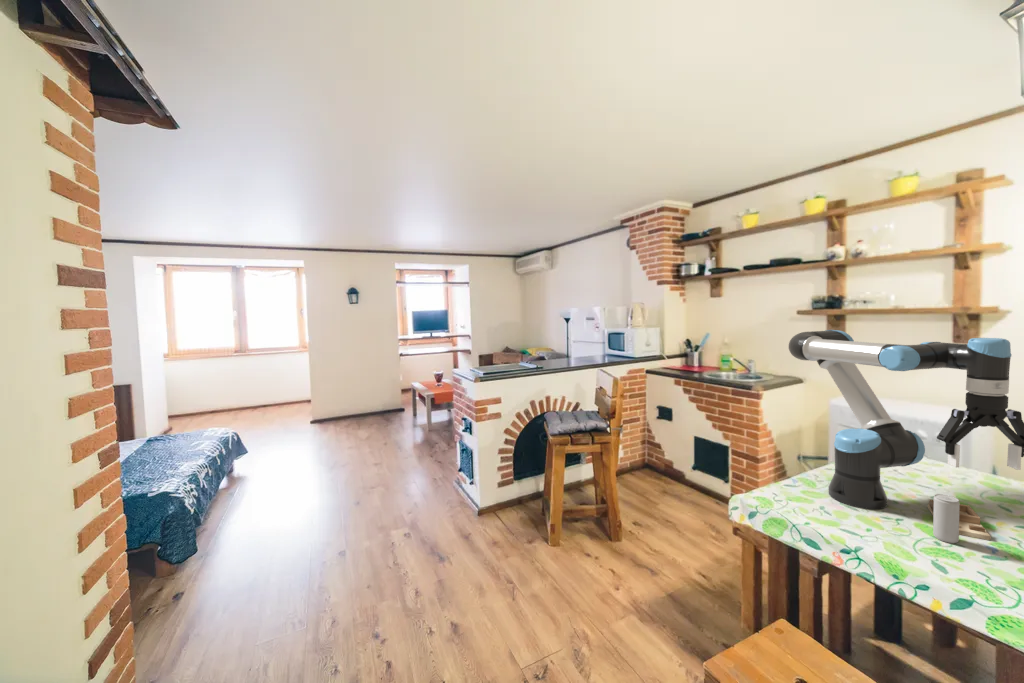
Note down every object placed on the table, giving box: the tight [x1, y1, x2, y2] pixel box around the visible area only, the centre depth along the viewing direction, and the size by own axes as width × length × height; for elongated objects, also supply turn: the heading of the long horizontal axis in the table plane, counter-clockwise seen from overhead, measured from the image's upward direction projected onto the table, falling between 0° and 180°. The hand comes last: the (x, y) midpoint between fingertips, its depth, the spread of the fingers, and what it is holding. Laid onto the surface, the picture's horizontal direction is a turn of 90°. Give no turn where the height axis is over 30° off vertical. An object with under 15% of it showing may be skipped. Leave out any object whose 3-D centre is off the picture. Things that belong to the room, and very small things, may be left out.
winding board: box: [927, 498, 992, 541], centre depth 115 cm, size 9×16×3 cm, turn 144°
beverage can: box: [932, 493, 961, 544], centre depth 108 cm, size 5×5×12 cm
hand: (983, 466), depth 109 cm, fingers open, 13 cm apart
